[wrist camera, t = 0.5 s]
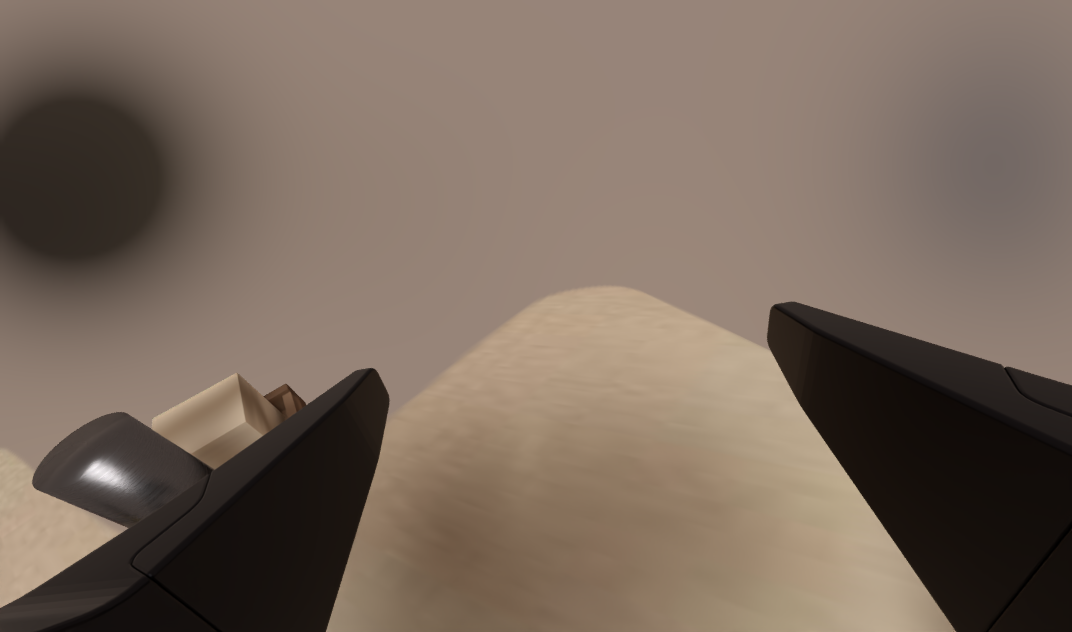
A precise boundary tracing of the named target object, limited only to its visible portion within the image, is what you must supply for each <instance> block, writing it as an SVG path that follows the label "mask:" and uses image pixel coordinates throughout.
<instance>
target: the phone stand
mask: <svg viewBox="0 0 1072 632" xmlns="http://www.w3.org/2000/svg"><path fill="white" fill-rule="evenodd" d="M264 398H266V399H267V400H268V401H269V402H270V403H271V404H272V405H273V406H274V407H275V408H277V409H278V410H279V411H280V412H281V413H282V414H283V415H284V418H285V420H286V419H288V418H289V417H290V416H292V415H293V414H295V413H296V412H298V411H299V410H300V409H302V408H303V407H305V406H306V403H305V402H304V401H303V400H302V399H301V398H300V397H299V396H298V395H297V394H296V393H295V392H294V391H293V390H292V389H291V388H290V387H289V386H288V385H287V384H284V385H283V386H281V387H279V388H277V389H276V390H274V391H272V392H271V393H269V394H267V395H265V396H264ZM214 470H215V469H213V468H212V467H210V466H209V465H207V464H206V463H204V462H202V461H201V460H199V459H198V458H196V457H195V456H193V455H191V454H190V453H188V452H187V451H185V450H184V449H182V448H180V447H179V446H177V445H176V444H174V443H173V442H171V441H169V440H168V439H166V438H165V437H163V436H162V435H160V434H158V433H157V432H155V431H154V430H152V429H151V428H149V427H147V426H146V425H144V424H143V423H141V422H140V421H138V420H136V419H135V418H133V417H132V416H130V415H129V414H127V413H124V412H116V413H111V414H107V415H104V416H101V417H99V418H97V419H95V420H93V421H91V422H89V423H87V424H85V425H83V426H82V427H80V428H79V429H77V430H76V431H74V432H73V433H71V434H70V435H69V436H67V437H66V438H65V439H64V440H62V441H61V442H60V443H59V444H58V445H57V446H55V447H54V448H53V449H52V451H50V452H49V454H48V455H47V456H46V457H45V458H44V459H43V461H42V462H41V463H40V465H39V466H38V468H37V469H36V471H35V473H34V476H33V480H32V484H33V487H34V488H35V489H37V490H39V491H41V492H44V493H46V494H48V495H51V496H53V497H56V498H58V499H60V500H63V501H65V502H68V503H70V504H72V505H75V506H77V507H79V508H82V509H84V510H87V511H89V512H91V513H94V514H96V515H99V516H101V517H103V518H106V519H108V520H111V521H113V522H115V523H118V524H120V525H123V526H125V527H127V528H130V527H131V526H133V525H134V524H136V523H137V522H139V521H141V520H142V519H144V518H145V517H147V516H148V515H150V514H151V513H153V512H154V511H156V510H157V509H159V508H160V507H162V506H163V505H165V504H166V503H168V502H169V501H170V500H172V499H173V498H175V497H176V496H178V495H179V494H181V493H182V492H184V491H185V490H186V489H188V488H189V487H191V486H192V485H194V484H195V483H196V482H198V481H199V480H201V479H202V478H204V477H205V476H206V475H209V474H210V475H211V473H212V471H214Z"/></svg>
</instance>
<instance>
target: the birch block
mask: <svg viewBox="0 0 1072 632" xmlns="http://www.w3.org/2000/svg"><path fill="white" fill-rule="evenodd" d="M283 421H285V418H284V415H283V414H282V413H281V412H280V411H279V410H278V409H277V408H275V407H274V406H273V405H272V404H271V403H270V402H269V401H268V400H267V399H266V398H264V397H263V396H262V395H261V394H260V393H259V392H258V391H257V390H256V389H254V388H253V387H252V386H251V385H250V384H249V383H248V382H247V381H246V380H245V379H243V378H242V377H241V376H240V375H239V374H238V373H235V374H234V375H232V376H230V377H228V378H226V379H225V380H223V381H221V382H219V383H217V384H215V385H213V386H212V387H210V388H208V389H206V390H204V391H203V392H201V393H199V394H197V395H195V396H194V397H192V398H190V399H188V400H186V401H184V402H182V403H181V404H179V405H177V406H175V407H173V408H171V409H170V410H168V411H166V412H164V413H162V414H160V415H159V416H157V417H155V418H153V419H152V430H154V431H155V432H157V433H158V434H160V435H162V436H163V437H165V438H166V439H168V440H169V441H171V442H173V443H174V444H176V445H177V446H179V447H180V448H182V449H184V450H185V451H187V452H188V453H190V454H191V455H193V456H195V457H196V458H198V459H199V460H201V461H202V462H204V463H206V464H207V465H209V466H210V467H212V468H213V469H216V468H218V467H219V466H221V465H222V464H224V463H225V462H226V461H228V460H229V459H231V458H232V457H234V456H235V455H236V454H238V453H239V452H241V451H242V450H244V449H245V448H246V447H248V446H249V445H251V444H252V443H253V442H255V441H256V440H258V439H259V438H261V437H262V436H263V435H265V434H266V433H268V432H269V431H271V430H272V429H273V428H275V427H276V426H278V425H279V424H281V423H282V422H283Z"/></svg>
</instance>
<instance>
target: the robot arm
mask: <svg viewBox="0 0 1072 632" xmlns="http://www.w3.org/2000/svg"><path fill="white" fill-rule="evenodd" d="M767 342H768V345H769V348H770V350H771V352H772V354H773V356H774V357H775V359H776V361H777V363H778V365H779V367H780V369H781V371H782V373H783V374H784V376H785V378H786V380H787V382H788V384H789V386H790V388H791V390H792V391H793V393H794V395H795V397H796V399H797V401H798V402H799V404H800V406H801V407H802V409H803V410H804V412H805V413H806V415H807V416H808V418H809V419H810V421H811V422H812V424H813V425H814V426H815V428H816V429H817V431H818V432H819V434H820V435H821V437H822V438H823V439H824V441H825V442H826V444H827V445H828V447H829V448H830V450H831V451H832V453H833V454H834V455H835V457H836V458H837V460H838V461H839V463H840V464H841V466H842V467H843V468H844V470H845V471H846V473H847V474H848V476H849V477H850V479H851V480H852V481H853V483H854V484H855V486H856V487H857V489H858V490H859V492H860V493H861V495H862V496H863V497H864V499H865V500H866V502H867V503H868V505H869V506H870V508H871V509H872V510H873V512H874V513H875V515H876V516H877V518H878V519H879V521H880V522H881V523H882V525H883V526H884V528H885V529H886V531H887V532H888V534H889V535H890V537H891V538H892V539H893V541H894V542H895V544H896V545H897V547H898V548H899V550H900V551H901V552H902V554H903V555H904V557H905V558H906V560H907V561H908V563H909V564H910V565H911V567H912V568H913V570H914V571H915V573H916V574H917V576H918V577H919V579H920V580H921V581H922V583H923V584H924V586H925V587H926V589H927V590H928V592H929V593H930V594H931V596H932V597H933V599H934V600H935V602H936V603H937V605H938V606H939V608H940V609H941V610H942V612H943V613H944V615H945V616H946V618H947V619H948V621H949V622H950V623H951V625H952V626H953V628H954V629H955V631H956V632H1072V385H1069V384H1065V383H1061V382H1058V381H1055V380H1051V379H1048V378H1044V377H1041V376H1038V375H1034V374H1031V373H1028V372H1024V371H1021V370H1018V369H1015V368H1011V367H1005V368H1004V367H1003V366H1002V365H1001V364H998V363H995V362H991V361H988V360H985V359H982V358H978V357H975V356H972V355H968V354H965V353H961V352H958V351H955V350H952V349H948V348H945V347H941V346H938V345H935V344H932V343H929V342H925V341H922V340H919V339H916V338H912V337H909V336H906V335H902V334H899V333H896V332H893V331H889V330H886V329H883V328H879V327H876V326H873V325H869V324H866V323H863V322H860V321H856V320H853V319H849V318H847V317H843V316H840V315H836V314H833V313H830V312H827V311H823V310H820V309H817V308H813V307H810V306H807V305H804V304H800V303H797V302H786V303H780V304H775V305H774V306H772V307H771V310H770V315H769V324H768V333H767ZM388 408H389V394H388V392H387V390H386V388H385V386H384V384H383V382H382V380H381V378H380V376H379V374H378V372H377V371H376V370H375V369H373V368H368V369H361V370H357V371H355V372H353V373H352V374H350V375H349V376H348V377H346V378H345V379H343V380H342V381H340V382H339V383H337V384H336V385H335V386H333V387H332V388H330V389H329V390H327V391H326V392H325V393H323V394H322V395H320V396H319V397H318V398H316V399H315V400H314V401H312V402H310V403H309V404H308V405H306V406H305V407H303V408H302V409H300V410H299V411H298V412H296V413H295V414H293V415H292V416H290V417H289V418H288V419H286V420H285V421H283V422H282V423H281V424H279V425H278V426H276V427H275V428H273V429H272V430H271V431H269V432H268V433H266V434H265V435H263V436H262V437H261V438H259V439H258V440H256V441H255V442H253V443H252V444H251V445H249V446H248V447H246V448H245V449H244V450H242V451H241V452H239V453H238V454H236V455H235V456H234V457H232V458H231V459H229V460H228V461H226V462H225V463H224V464H222V465H221V466H219V467H218V468H216V469H215V470H214V471H212V473H211V475H210V474H209V475H206V476H205V477H204V478H202V479H201V480H199V481H198V482H196V483H195V484H194V485H192V486H191V487H189V488H188V489H186V490H185V491H184V492H182V493H181V494H179V495H178V496H176V497H175V498H173V499H172V500H170V501H169V502H168V503H166V504H165V505H163V506H162V507H160V508H159V509H157V510H156V511H154V512H153V513H151V514H150V515H148V516H147V517H145V518H144V519H142V520H141V521H139V522H137V523H136V524H134V525H133V526H131V527H130V528H128V529H127V530H125V531H124V532H122V533H121V534H119V535H118V536H116V537H115V538H113V539H111V540H110V541H108V542H107V543H105V544H104V545H102V546H101V547H99V548H97V549H96V550H94V551H93V552H91V553H90V554H88V555H87V556H85V557H84V558H82V559H80V560H79V561H77V562H76V563H74V564H73V565H71V566H70V567H68V568H67V569H65V570H63V571H62V572H60V573H59V574H57V575H56V576H54V577H53V578H51V579H49V580H48V581H46V582H45V583H43V584H42V585H40V586H39V587H37V588H35V589H34V590H32V591H30V592H29V593H27V594H25V595H24V596H22V597H21V598H19V599H17V600H15V601H13V602H11V603H9V604H7V605H5V606H3V607H1V608H0V632H326V629H327V626H328V623H329V620H330V616H331V613H332V610H333V607H334V603H335V600H336V597H337V594H338V590H339V587H340V584H341V581H342V577H343V574H344V571H345V568H346V564H347V561H348V558H349V555H350V551H351V548H352V545H353V542H354V538H355V535H356V532H357V529H358V525H359V522H360V519H361V516H362V512H363V509H364V506H365V503H366V499H367V496H368V493H369V490H370V486H371V483H372V480H373V477H374V474H375V470H376V467H377V463H378V459H379V455H380V450H381V445H382V440H383V435H384V429H385V424H386V419H387V414H388Z"/></svg>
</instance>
